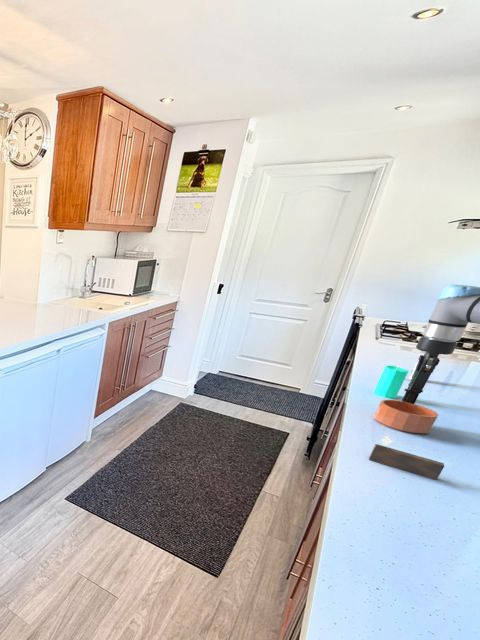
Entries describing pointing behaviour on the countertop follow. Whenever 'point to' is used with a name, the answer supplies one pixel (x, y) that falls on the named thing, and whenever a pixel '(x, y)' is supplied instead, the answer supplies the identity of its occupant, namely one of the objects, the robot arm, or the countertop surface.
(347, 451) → the countertop surface
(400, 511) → the countertop surface
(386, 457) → the bar
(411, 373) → the pill bottle
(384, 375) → the candle
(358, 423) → the countertop surface
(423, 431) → the bowl
